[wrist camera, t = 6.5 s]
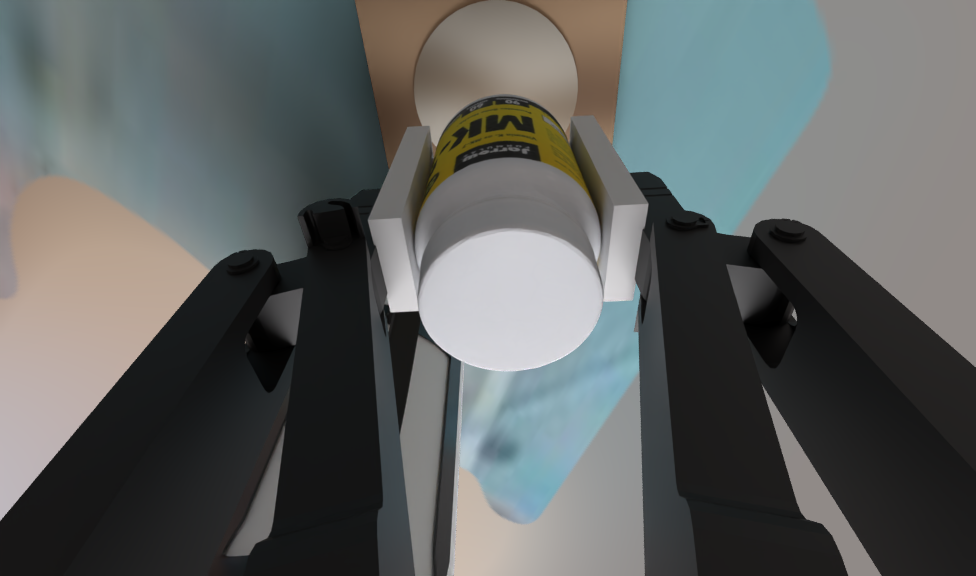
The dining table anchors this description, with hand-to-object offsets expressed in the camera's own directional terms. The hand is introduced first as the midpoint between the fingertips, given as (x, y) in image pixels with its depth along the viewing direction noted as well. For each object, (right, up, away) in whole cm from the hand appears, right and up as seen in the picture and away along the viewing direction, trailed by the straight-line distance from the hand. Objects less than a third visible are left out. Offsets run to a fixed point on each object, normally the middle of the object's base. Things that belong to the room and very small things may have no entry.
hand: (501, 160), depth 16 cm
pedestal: (0, +7, +9) cm, 11 cm away
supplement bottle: (0, 0, 0) cm, 1 cm away
